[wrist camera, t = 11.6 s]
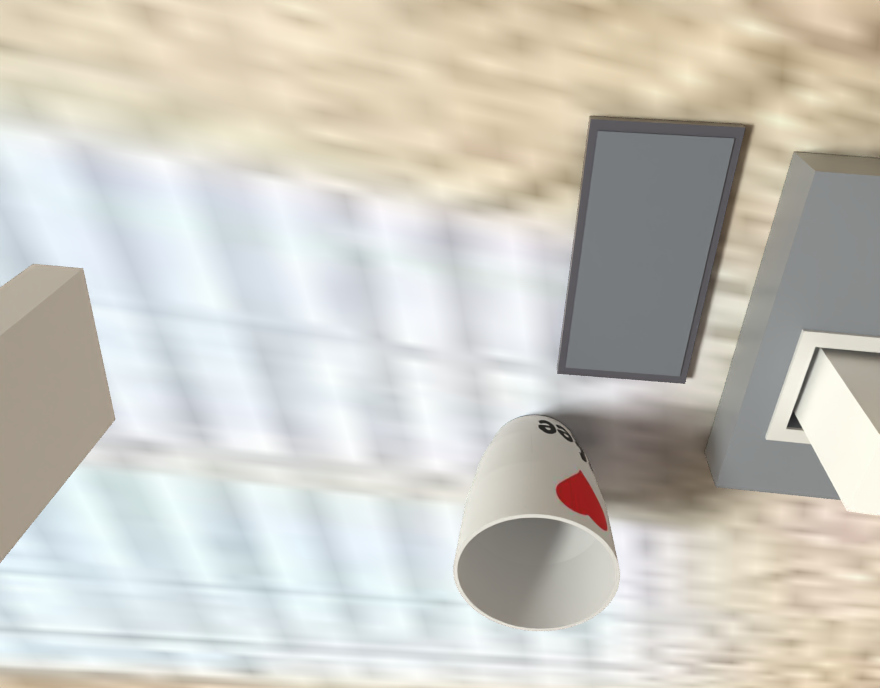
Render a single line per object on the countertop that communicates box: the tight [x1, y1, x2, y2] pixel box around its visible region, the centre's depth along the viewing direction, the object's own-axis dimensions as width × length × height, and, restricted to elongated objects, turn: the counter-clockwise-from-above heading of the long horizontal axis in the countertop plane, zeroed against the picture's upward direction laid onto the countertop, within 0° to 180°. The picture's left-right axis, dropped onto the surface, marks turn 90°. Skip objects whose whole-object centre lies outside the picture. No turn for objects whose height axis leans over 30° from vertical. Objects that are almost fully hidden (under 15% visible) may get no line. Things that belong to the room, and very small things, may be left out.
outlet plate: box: [705, 152, 880, 500], centre depth 38 cm, size 18×12×3 cm, turn 177°
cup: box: [453, 415, 620, 631], centre depth 41 cm, size 8×8×10 cm
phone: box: [557, 116, 745, 384], centre depth 38 cm, size 14×7×1 cm, turn 178°
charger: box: [793, 347, 880, 515], centre depth 36 cm, size 4×4×10 cm
